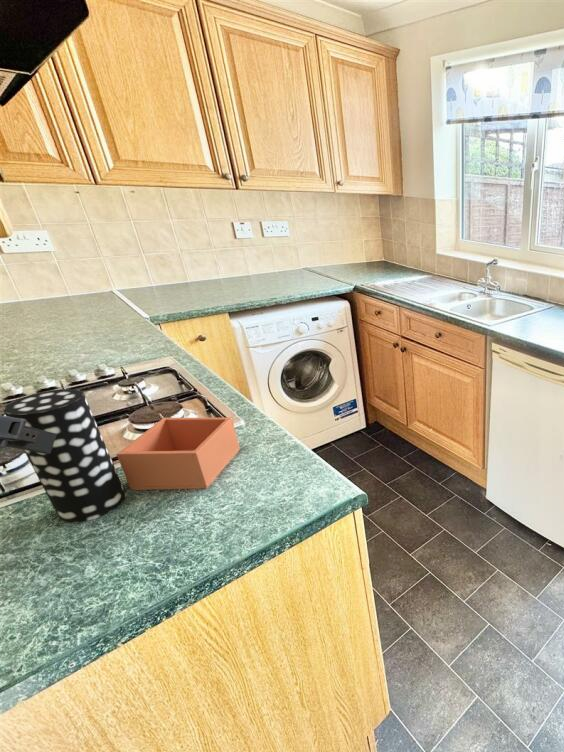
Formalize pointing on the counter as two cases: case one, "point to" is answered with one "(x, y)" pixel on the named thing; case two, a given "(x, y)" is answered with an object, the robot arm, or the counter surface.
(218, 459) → the box
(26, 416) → the white-spotted black cylinder
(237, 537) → the counter surface
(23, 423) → the robot arm
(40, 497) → the counter surface
